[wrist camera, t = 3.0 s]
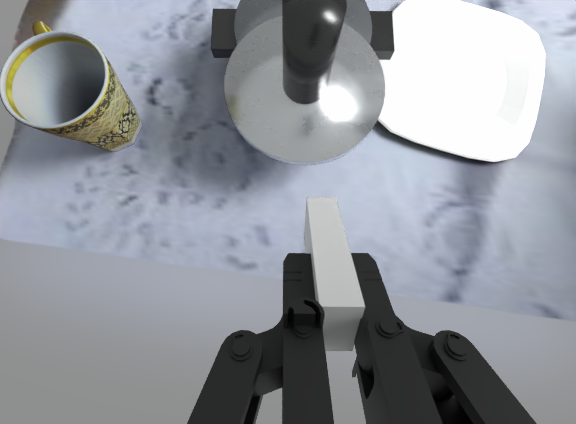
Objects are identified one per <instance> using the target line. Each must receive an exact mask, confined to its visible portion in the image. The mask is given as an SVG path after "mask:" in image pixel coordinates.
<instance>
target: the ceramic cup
mask: <svg viewBox="0 0 576 424" xmlns="http://www.w3.org/2000/svg"><path fill="white" fill-rule="evenodd" d="M33 32H34V34H35V36H33V37H31V38H29V39H28V40H26V41H24V42H23V43H22V44H20V45H19V46H18V47H17V48H16V49H15V50H14V51H13V52H12V53H11V54H10V55H9V57H8V58H7V60H6V62H5V63H4V65H3V67H2V70H1V73H0V97H1V100H2V102H3V104H4V106H5V108H6V109H7V111H8V112H9V113H10V114H11V115H12V116H13V117H14V118H15V119H17V120H18V121H19V122H21V123H23V124H25V125H28V126H30V127H33V128H36V129H38V130H41V131H44V132H47V133H51V134H54V135H57V136H61V137H65V138H69V139H74V140H79V141H83V142H86V143H89V144H92V145H95V146H97V147H100V148H103V149H106V150H110V151H113V152H114V151H115V152H116V151H119V150H121V149H123V148H126V147H128V146H130V145H133V144H134V142H135V140H136V138H137V136H138V134H139V132H140V129H141V127H142V122H141V120H140V118H139V115H138V113H137V111H136V109H135V107H134V105H133V103H132V101H131V100H130V98H129V97H128V95H127V93H126V92H125V90H124V89H123V87H122V85H121V84H120V82H119V79H118V77H117V75H116V73H115V71H114V69H113V68H112V66H111V64H110V63H109V61H108V60H107V58H106V57H105V55H104V54H103V52H102V51H101V49H100V48H99V47H98V46H97V45H96V44H95V43H94V42H93V41H91V40H90V39H88V38H87V37H85V36H83V35H80V34H78V33H74V32H69V31H51V30H50V28H49V27H48V26H47V25H45V24H44V23H43V22H41V21H38V22H35V23H34V24H33Z"/></svg>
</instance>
